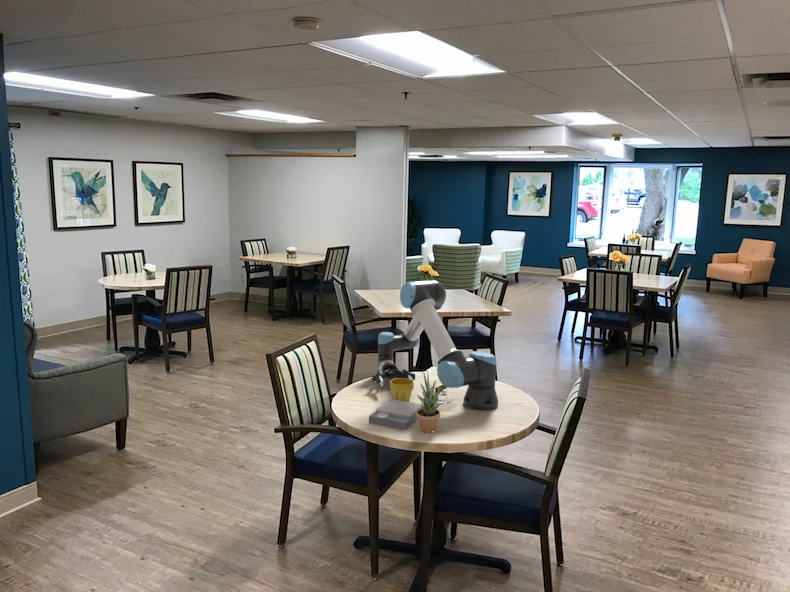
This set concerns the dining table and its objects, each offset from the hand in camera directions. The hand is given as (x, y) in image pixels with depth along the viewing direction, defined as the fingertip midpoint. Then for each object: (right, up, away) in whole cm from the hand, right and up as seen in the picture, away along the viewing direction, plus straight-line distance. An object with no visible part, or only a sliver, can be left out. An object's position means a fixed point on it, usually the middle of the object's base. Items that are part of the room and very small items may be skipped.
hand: (397, 382), depth 287 cm
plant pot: (+2, -8, -8) cm, 11 cm away
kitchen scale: (0, -11, -26) cm, 28 cm away
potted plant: (+12, -13, -38) cm, 42 cm away
